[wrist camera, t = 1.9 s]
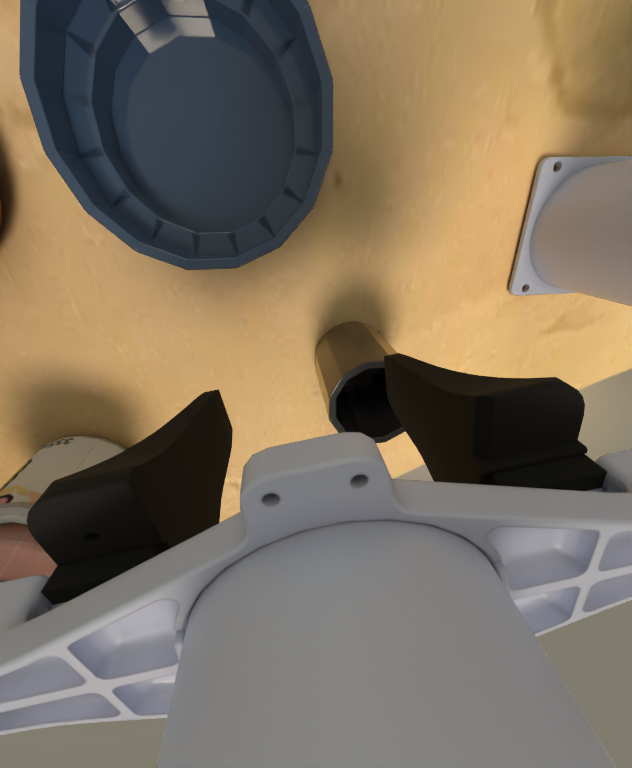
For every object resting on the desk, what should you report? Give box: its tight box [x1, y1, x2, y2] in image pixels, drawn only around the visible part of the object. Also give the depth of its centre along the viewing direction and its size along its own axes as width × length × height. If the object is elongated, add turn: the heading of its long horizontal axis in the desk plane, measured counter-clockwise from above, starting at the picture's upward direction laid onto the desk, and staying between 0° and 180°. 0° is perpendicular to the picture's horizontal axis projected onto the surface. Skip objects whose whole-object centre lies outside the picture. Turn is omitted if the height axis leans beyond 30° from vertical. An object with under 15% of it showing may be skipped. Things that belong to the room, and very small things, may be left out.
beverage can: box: [0, 435, 127, 583], centre depth 21 cm, size 9×8×12 cm
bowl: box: [20, 0, 333, 270], centre depth 16 cm, size 12×12×4 cm
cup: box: [315, 322, 405, 443], centre depth 21 cm, size 5×5×7 cm
